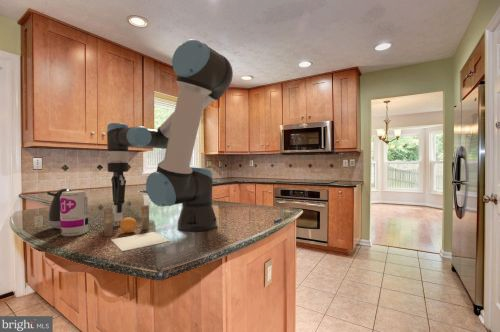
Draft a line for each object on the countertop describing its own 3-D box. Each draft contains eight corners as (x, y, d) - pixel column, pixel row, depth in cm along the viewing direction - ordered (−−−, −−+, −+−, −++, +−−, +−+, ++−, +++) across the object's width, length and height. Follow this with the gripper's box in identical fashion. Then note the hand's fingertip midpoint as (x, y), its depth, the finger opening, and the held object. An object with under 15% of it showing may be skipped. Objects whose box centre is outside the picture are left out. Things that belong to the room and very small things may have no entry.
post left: (113, 235, 88) (113, 209, 88) (105, 236, 86) (104, 210, 86) (111, 233, 90) (111, 208, 90) (103, 234, 88) (103, 209, 88)
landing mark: (169, 241, 81) (169, 240, 81) (122, 251, 72) (122, 250, 72) (153, 232, 91) (153, 231, 91) (110, 240, 82) (110, 239, 82)
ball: (139, 230, 90) (138, 215, 91) (122, 233, 87) (121, 217, 88) (135, 231, 94) (133, 217, 95) (118, 234, 91) (117, 219, 92)
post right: (150, 228, 96) (149, 205, 96) (143, 230, 94) (142, 206, 94) (147, 227, 98) (147, 204, 98) (140, 228, 96) (140, 205, 96)
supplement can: (74, 237, 85) (73, 193, 85) (54, 236, 87) (53, 192, 87) (93, 231, 93) (93, 190, 93) (75, 229, 95) (74, 190, 95)
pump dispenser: (46, 227, 99) (45, 188, 99) (78, 222, 106) (77, 186, 106) (48, 232, 91) (48, 190, 91) (82, 227, 98) (82, 188, 98)
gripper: (104, 162, 104) (104, 219, 105) (111, 162, 94) (112, 224, 95) (123, 162, 109) (124, 216, 109) (132, 162, 99) (133, 221, 100)
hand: (118, 220), depth 102 cm, fingers closed
